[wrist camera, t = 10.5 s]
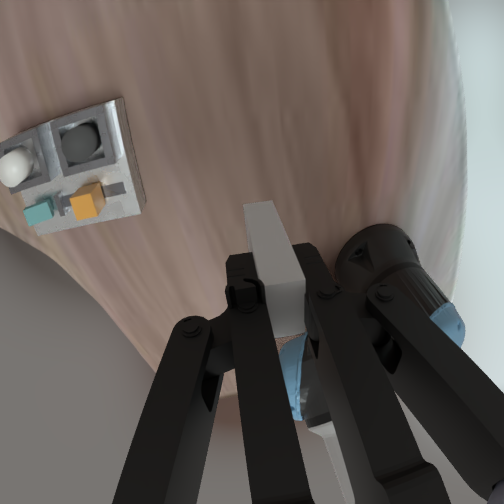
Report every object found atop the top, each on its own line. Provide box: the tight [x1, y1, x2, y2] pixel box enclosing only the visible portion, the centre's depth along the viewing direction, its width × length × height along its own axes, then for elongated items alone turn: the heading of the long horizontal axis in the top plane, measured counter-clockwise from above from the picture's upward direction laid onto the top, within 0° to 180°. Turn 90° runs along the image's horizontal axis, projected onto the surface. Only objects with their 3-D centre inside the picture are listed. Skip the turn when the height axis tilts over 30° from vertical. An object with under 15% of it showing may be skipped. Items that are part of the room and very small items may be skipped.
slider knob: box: [69, 183, 106, 221], centre depth 35 cm, size 3×3×4 cm
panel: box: [0, 97, 146, 236], centre depth 35 cm, size 15×17×7 cm
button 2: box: [61, 122, 101, 163], centre depth 30 cm, size 4×4×3 cm
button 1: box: [0, 147, 34, 187], centre depth 28 cm, size 4×4×3 cm
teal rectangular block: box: [23, 199, 55, 226], centre depth 35 cm, size 2×4×1 cm, turn 96°
